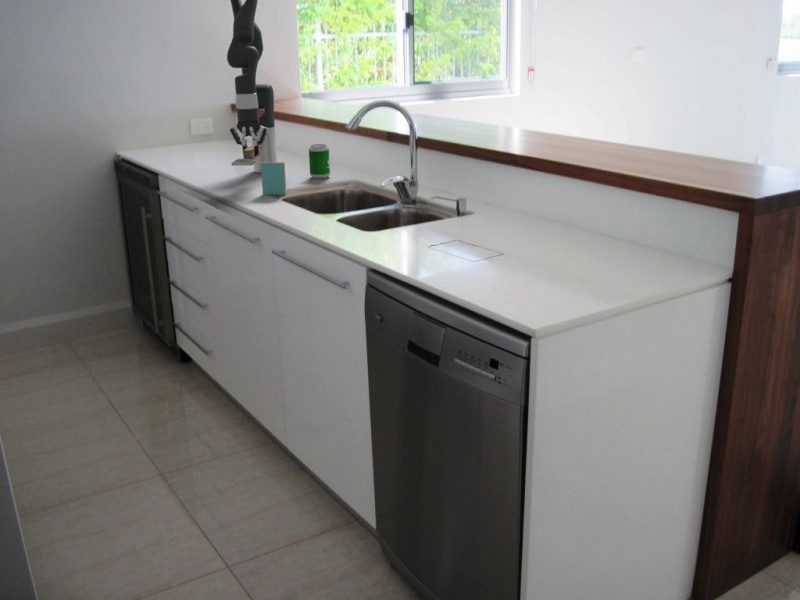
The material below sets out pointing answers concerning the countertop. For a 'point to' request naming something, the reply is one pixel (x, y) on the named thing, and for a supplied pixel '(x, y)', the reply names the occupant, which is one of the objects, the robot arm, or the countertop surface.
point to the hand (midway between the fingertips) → (251, 156)
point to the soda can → (319, 161)
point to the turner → (248, 156)
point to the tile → (273, 178)
